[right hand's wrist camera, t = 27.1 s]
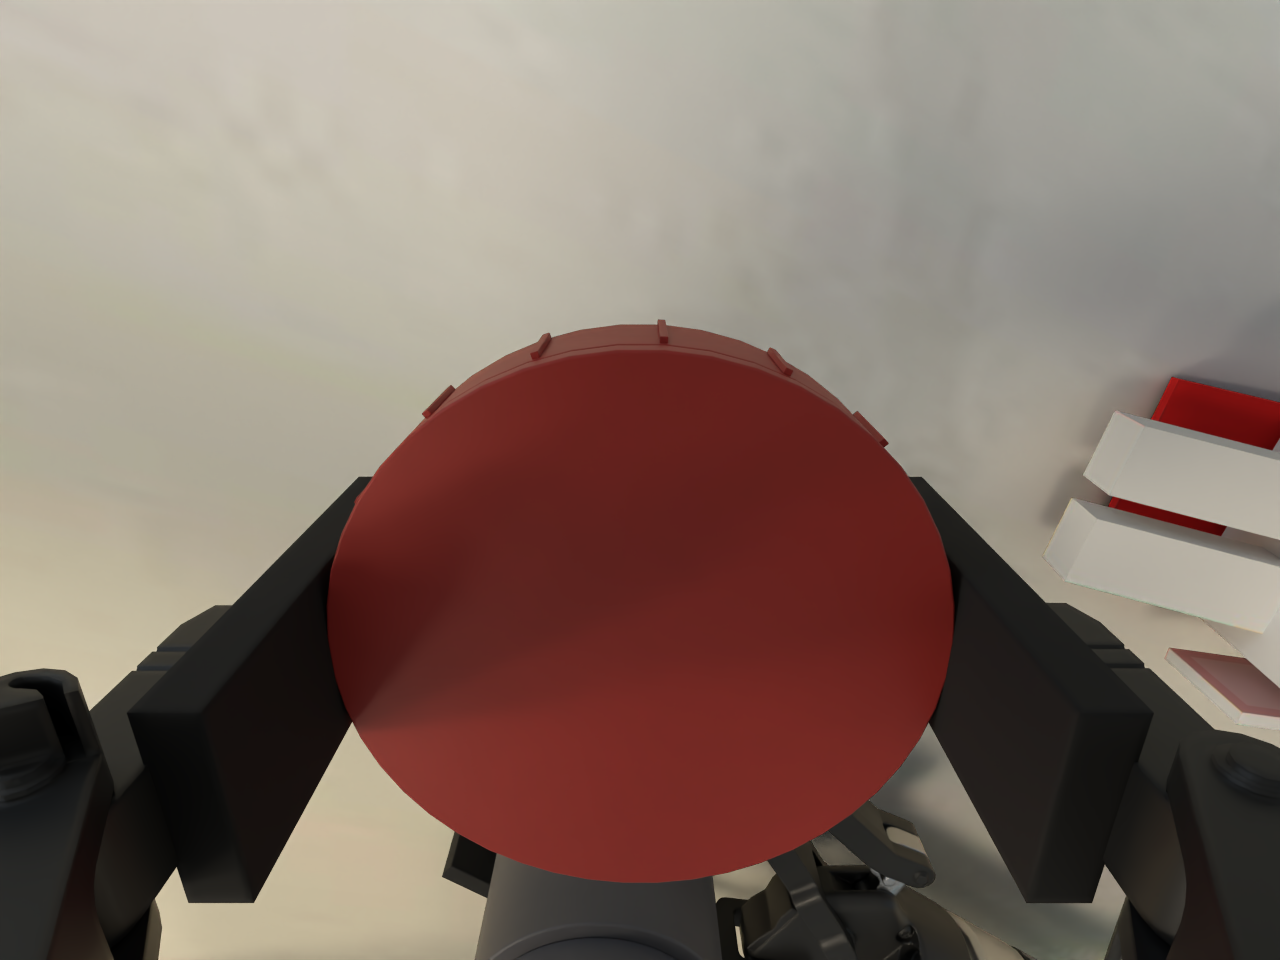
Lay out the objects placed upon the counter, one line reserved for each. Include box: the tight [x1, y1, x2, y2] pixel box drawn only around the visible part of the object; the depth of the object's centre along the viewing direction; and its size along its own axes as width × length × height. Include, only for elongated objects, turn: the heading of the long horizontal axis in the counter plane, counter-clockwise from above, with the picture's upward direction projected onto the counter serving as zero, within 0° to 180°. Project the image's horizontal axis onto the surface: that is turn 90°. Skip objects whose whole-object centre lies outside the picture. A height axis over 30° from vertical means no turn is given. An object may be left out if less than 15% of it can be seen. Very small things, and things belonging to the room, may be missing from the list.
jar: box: [475, 853, 722, 960], centre depth 29 cm, size 8×8×15 cm
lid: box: [327, 320, 955, 883], centre depth 11 cm, size 9×9×2 cm
